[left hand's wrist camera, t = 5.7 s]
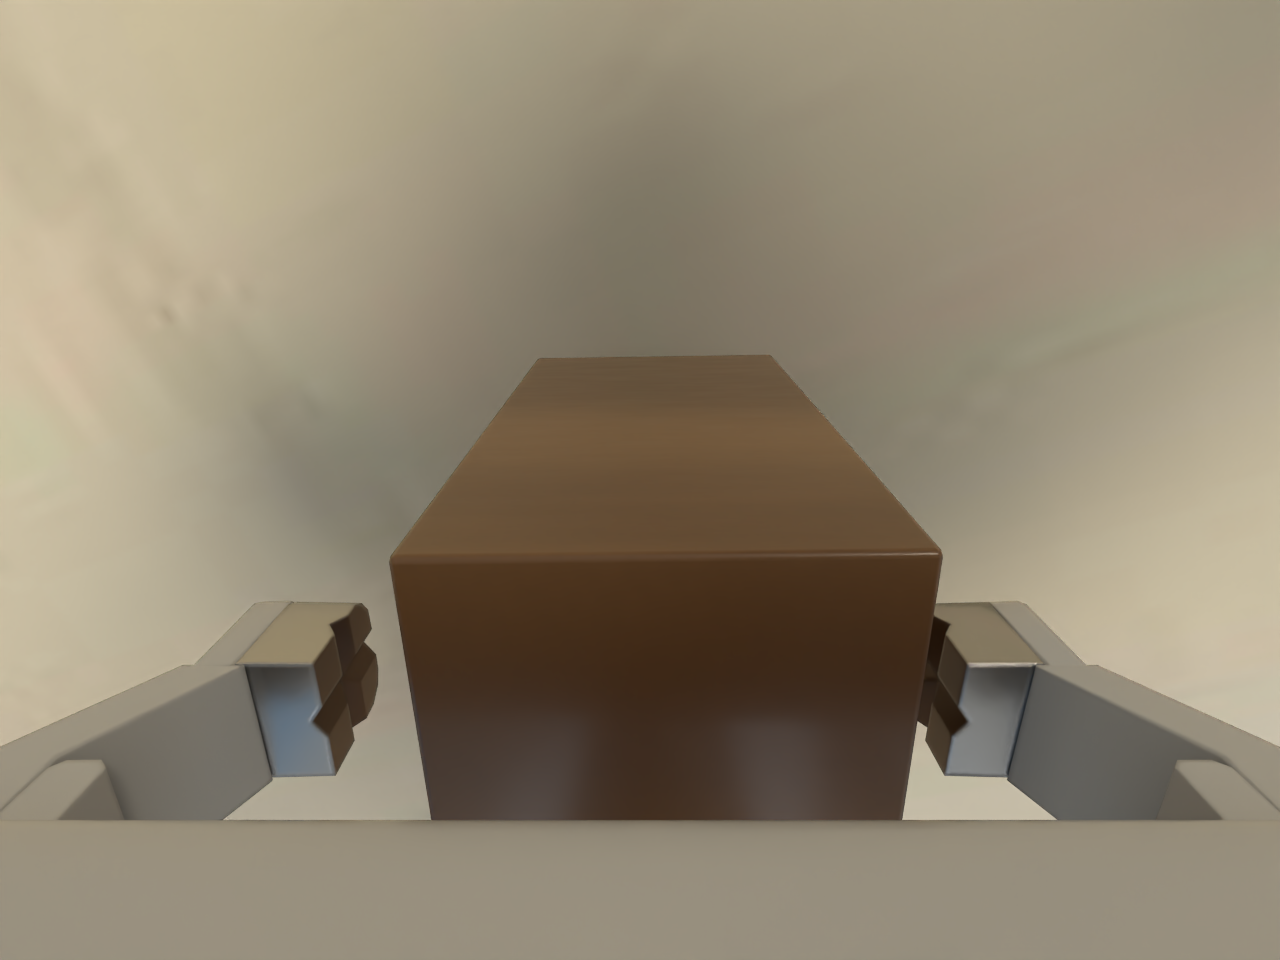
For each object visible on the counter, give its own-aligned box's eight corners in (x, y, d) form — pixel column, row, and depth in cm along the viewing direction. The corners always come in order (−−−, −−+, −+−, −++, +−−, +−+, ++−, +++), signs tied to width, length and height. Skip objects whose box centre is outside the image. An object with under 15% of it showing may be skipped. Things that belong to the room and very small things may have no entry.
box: (537, 357, 18) (385, 557, 7) (771, 353, 18) (947, 551, 7) (580, 974, 26) (537, 1473, 16) (740, 973, 26) (802, 1476, 16)
